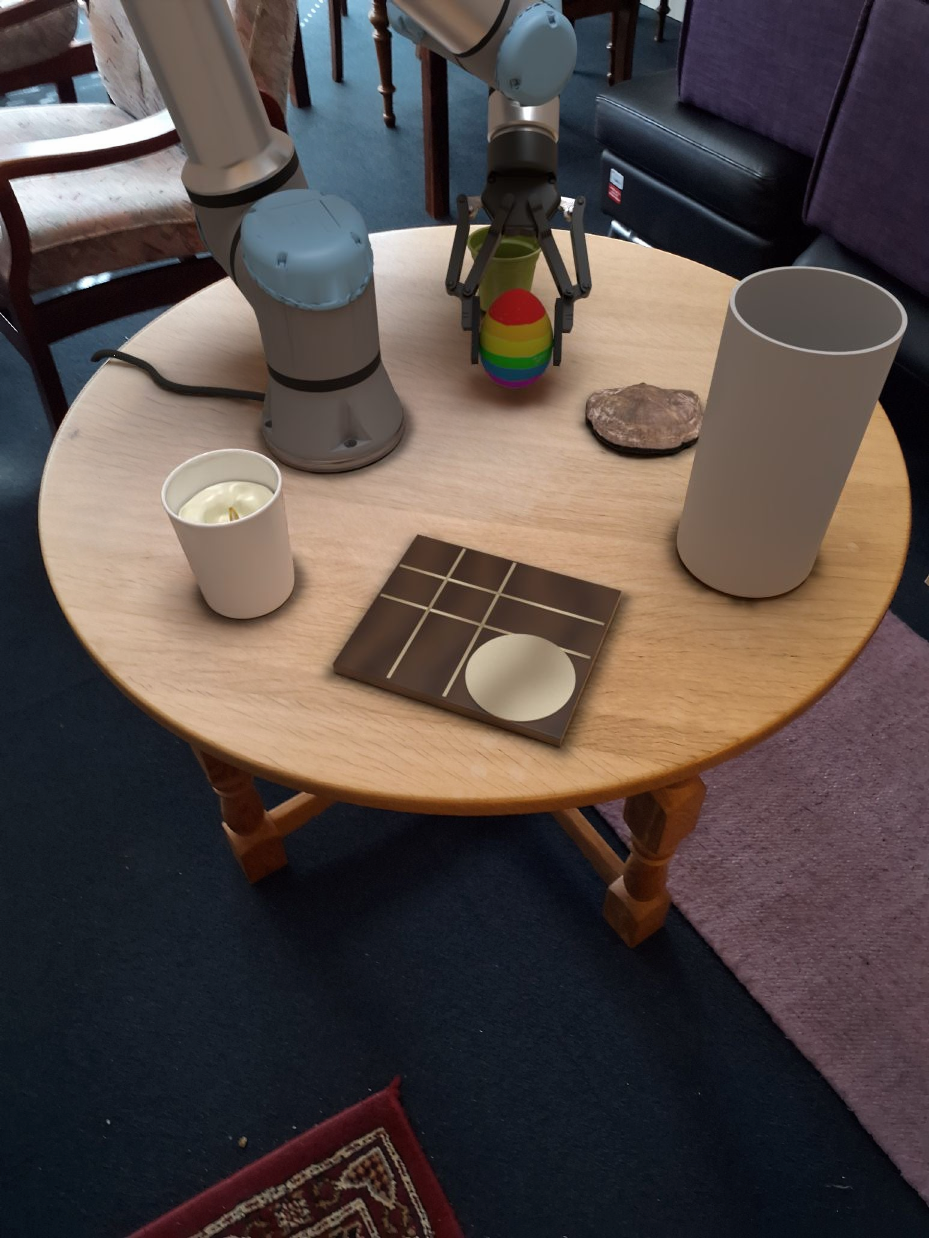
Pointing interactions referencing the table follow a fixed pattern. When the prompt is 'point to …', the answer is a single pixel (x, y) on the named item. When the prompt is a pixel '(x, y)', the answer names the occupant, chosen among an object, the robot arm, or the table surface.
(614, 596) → the board
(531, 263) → the plant pot
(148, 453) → the table surface
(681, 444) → the shell
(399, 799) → the table surface
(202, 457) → the candle holder
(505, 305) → the decorative egg
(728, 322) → the cylinder vase
